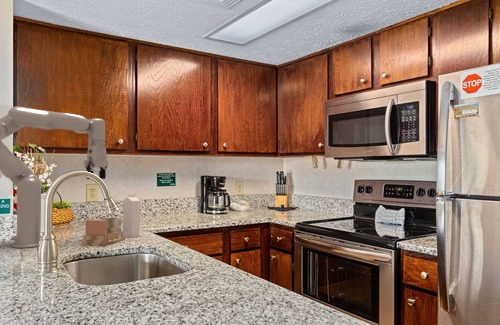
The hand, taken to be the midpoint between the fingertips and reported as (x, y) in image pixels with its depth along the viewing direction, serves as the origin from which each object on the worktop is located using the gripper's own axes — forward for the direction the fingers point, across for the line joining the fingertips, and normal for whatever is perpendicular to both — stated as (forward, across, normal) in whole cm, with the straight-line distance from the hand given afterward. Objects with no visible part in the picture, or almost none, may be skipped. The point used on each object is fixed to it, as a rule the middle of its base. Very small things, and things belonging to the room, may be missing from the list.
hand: (96, 178), depth 190 cm
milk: (+31, +16, -10) cm, 36 cm away
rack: (+30, -2, -6) cm, 31 cm away
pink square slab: (+29, -8, -6) cm, 31 cm away
